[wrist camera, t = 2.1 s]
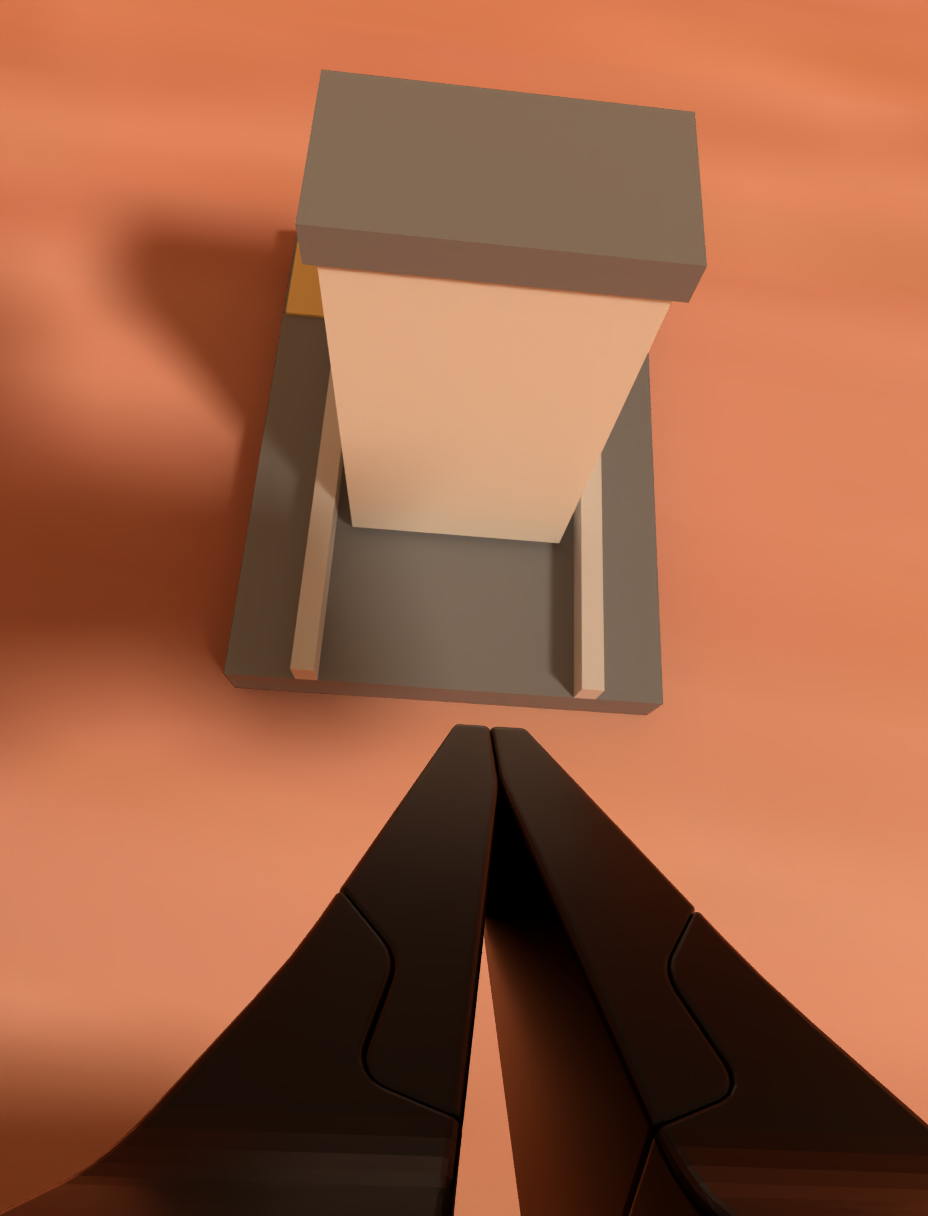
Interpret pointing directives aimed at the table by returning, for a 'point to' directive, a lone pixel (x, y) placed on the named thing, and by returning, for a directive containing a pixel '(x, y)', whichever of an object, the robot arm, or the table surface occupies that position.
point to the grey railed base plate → (439, 570)
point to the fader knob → (489, 289)
